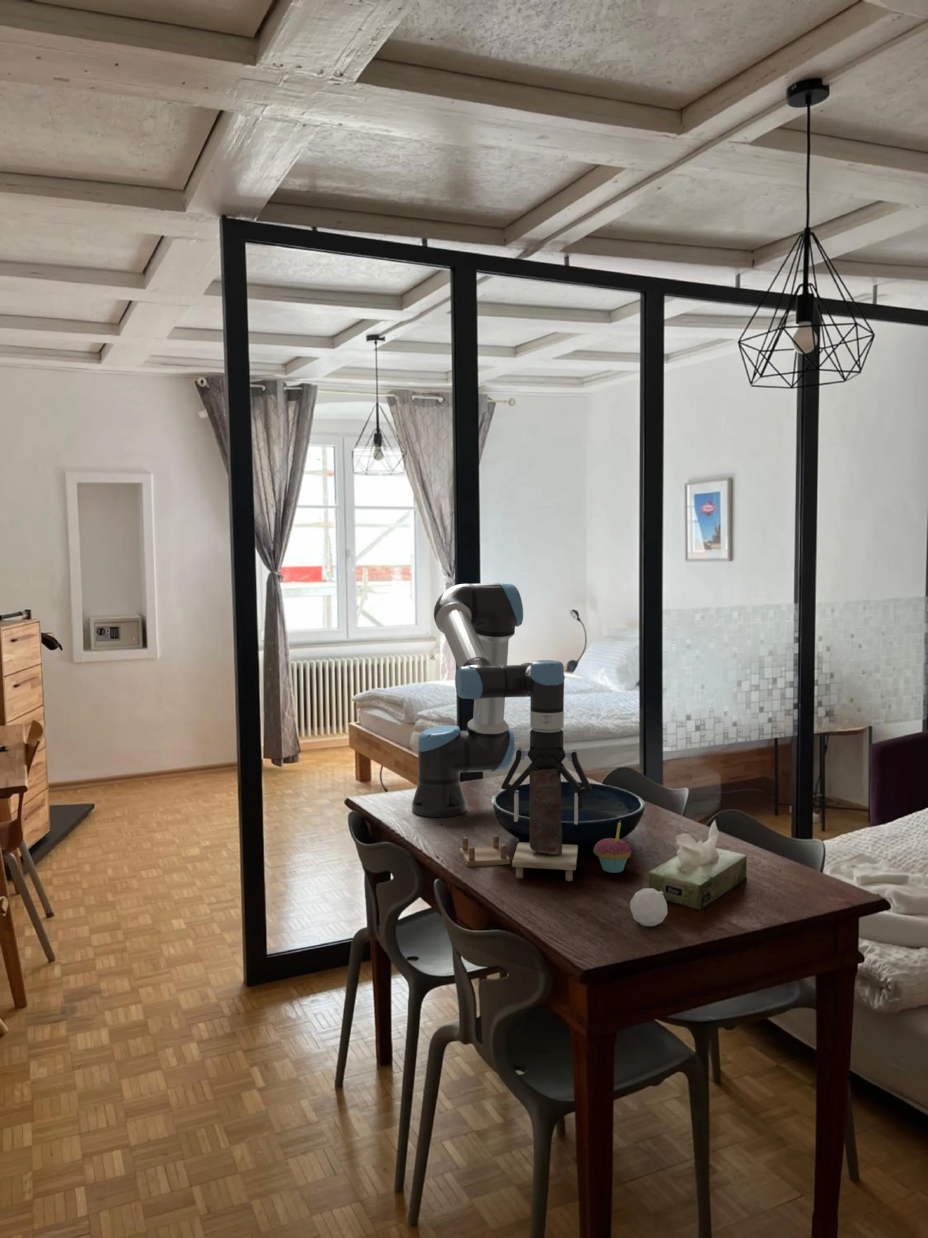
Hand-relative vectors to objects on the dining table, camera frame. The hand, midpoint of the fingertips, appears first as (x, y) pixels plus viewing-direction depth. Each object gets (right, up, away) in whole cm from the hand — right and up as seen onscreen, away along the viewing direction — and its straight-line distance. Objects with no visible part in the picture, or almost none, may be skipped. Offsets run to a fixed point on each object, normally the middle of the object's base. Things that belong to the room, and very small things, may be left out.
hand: (546, 821), depth 215 cm
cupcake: (+15, -12, +1) cm, 19 cm away
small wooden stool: (0, -11, +1) cm, 11 cm away
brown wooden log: (0, -7, +1) cm, 8 cm away
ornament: (+17, -14, -30) cm, 37 cm away
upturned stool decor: (-14, -11, +9) cm, 20 cm away
